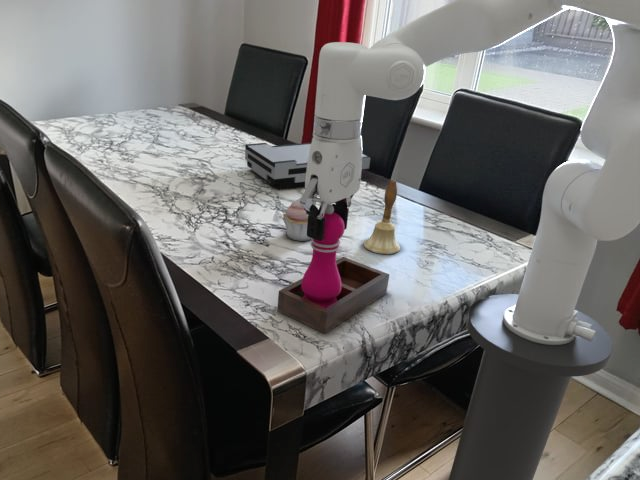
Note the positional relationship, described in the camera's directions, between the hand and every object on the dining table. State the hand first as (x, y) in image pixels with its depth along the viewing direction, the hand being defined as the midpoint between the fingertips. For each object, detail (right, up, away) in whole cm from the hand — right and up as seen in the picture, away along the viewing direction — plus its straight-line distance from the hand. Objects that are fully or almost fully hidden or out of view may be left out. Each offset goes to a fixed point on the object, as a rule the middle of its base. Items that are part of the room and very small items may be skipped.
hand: (326, 232), depth 99 cm
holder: (+3, -12, +11) cm, 17 cm away
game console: (+3, +25, +79) cm, 83 cm away
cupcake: (-2, +3, +38) cm, 38 cm away
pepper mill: (-1, -13, +7) cm, 15 cm away
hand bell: (+17, 0, +34) cm, 38 cm away
